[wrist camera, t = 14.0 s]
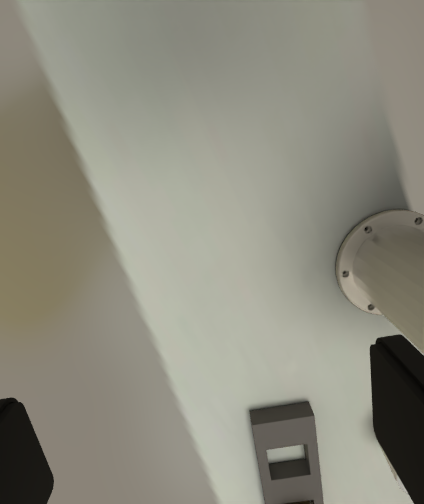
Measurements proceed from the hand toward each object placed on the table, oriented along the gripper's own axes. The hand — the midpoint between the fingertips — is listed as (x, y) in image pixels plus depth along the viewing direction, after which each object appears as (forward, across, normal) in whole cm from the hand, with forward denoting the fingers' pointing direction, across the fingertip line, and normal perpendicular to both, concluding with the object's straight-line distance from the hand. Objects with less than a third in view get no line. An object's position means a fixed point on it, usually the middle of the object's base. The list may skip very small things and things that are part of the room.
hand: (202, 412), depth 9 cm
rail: (+30, -5, +40) cm, 50 cm away
